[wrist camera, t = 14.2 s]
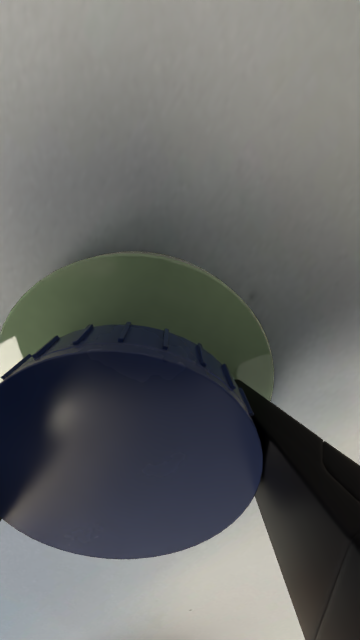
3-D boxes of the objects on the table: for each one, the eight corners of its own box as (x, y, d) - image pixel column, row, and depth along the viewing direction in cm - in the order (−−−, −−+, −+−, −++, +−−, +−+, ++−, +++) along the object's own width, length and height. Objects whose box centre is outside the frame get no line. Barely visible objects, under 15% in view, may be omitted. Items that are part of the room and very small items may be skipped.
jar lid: (243, 500, 8) (256, 552, 7) (44, 513, 8) (19, 568, 7) (254, 312, 6) (280, 336, 4) (-35, 331, 5) (-101, 360, 4)
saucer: (-11, 425, 10) (-31, 445, 9) (54, 191, 7) (35, 184, 6) (192, 488, 12) (194, 510, 11) (315, 326, 9) (332, 337, 8)
